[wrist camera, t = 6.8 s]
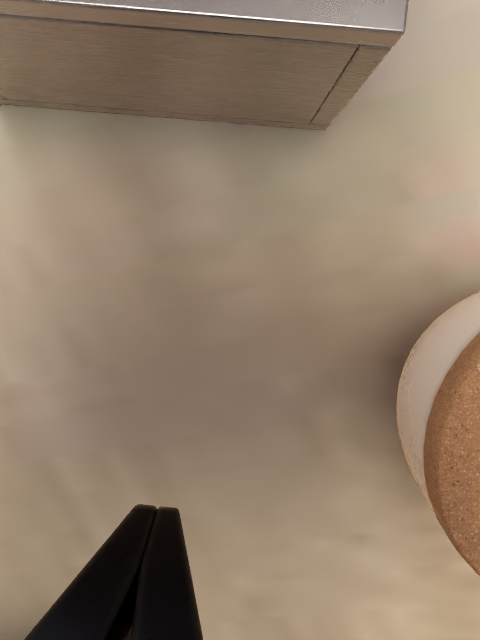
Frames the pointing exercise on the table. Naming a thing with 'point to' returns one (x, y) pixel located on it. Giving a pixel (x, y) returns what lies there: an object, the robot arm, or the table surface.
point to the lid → (239, 16)
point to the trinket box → (446, 422)
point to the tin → (179, 72)
